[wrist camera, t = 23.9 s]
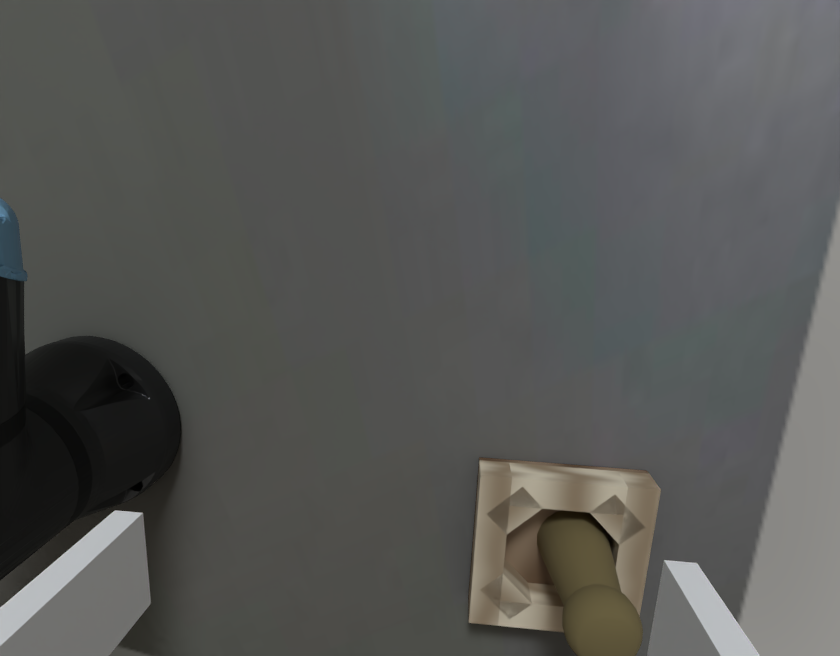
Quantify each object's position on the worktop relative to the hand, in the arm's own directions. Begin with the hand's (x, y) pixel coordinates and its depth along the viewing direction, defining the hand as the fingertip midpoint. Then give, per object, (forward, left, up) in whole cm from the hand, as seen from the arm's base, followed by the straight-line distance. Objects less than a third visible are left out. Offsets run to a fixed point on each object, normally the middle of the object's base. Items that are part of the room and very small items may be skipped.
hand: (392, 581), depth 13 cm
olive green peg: (+13, -18, -28) cm, 36 cm away
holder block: (+11, -18, -29) cm, 36 cm away
